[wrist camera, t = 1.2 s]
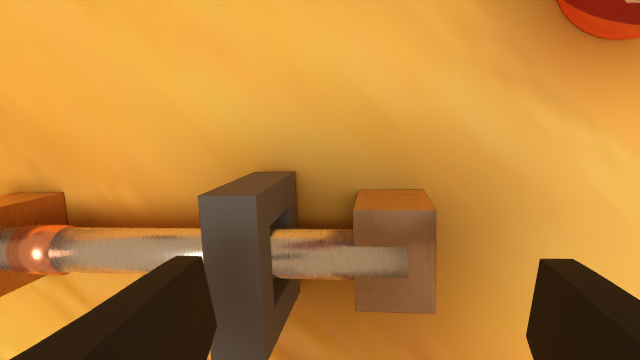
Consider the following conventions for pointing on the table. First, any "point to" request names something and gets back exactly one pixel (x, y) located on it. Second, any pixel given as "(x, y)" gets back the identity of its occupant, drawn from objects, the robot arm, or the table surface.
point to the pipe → (286, 248)
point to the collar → (247, 262)
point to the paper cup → (604, 17)
